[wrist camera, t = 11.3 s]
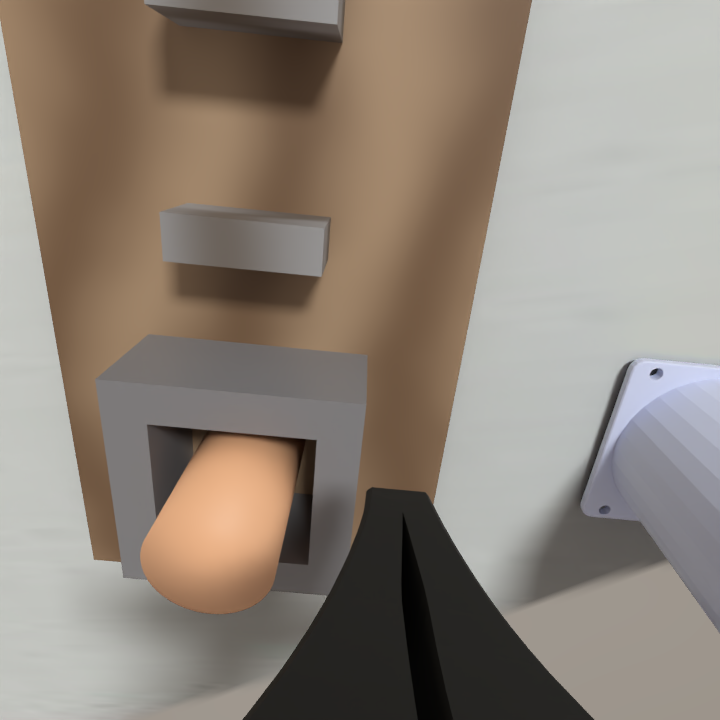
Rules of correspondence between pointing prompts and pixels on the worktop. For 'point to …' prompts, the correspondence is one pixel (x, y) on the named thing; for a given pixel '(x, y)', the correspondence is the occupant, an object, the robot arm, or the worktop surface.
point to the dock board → (266, 195)
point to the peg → (224, 523)
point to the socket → (240, 415)
